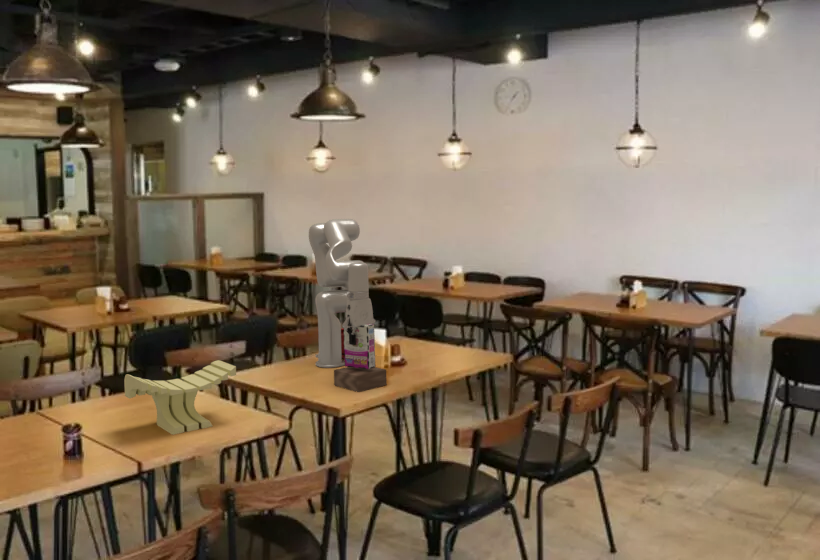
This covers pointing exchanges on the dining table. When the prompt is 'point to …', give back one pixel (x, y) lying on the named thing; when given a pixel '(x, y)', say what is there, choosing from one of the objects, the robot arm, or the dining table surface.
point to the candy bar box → (360, 348)
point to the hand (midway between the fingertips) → (359, 342)
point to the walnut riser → (359, 378)
